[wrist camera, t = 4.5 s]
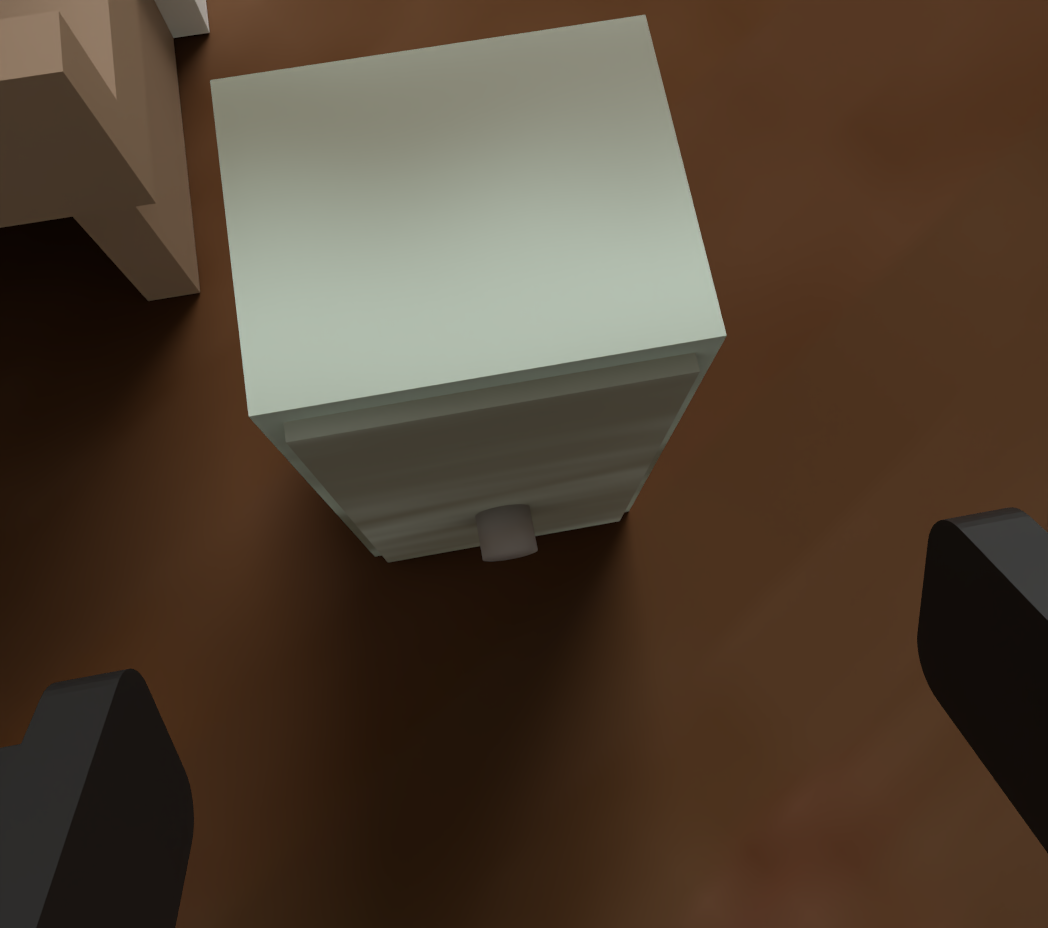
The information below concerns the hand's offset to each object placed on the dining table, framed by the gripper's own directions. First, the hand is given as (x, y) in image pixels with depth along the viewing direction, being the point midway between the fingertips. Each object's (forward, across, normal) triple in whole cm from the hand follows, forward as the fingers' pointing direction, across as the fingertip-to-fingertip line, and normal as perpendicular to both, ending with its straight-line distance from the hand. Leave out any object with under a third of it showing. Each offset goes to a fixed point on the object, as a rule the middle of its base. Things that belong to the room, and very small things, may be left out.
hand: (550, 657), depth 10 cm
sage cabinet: (+11, 0, +4) cm, 12 cm away
